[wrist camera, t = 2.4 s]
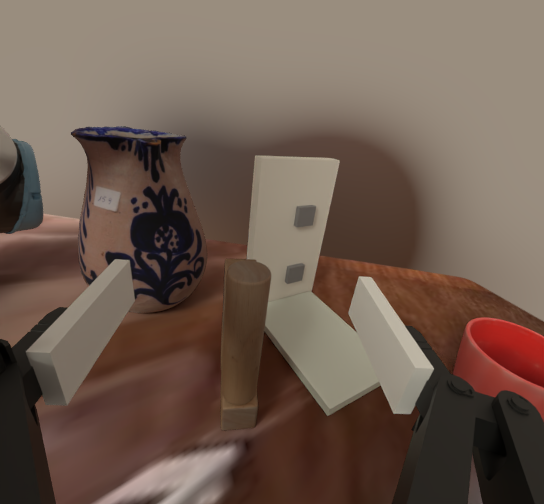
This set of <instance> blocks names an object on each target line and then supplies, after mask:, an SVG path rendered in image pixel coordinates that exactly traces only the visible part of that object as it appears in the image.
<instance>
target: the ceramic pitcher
mask: <svg viewBox="0 0 544 504" xmlns="http://www.w3.org/2000/svg"><path fill="white" fill-rule="evenodd" d="M71 135H72V136H73V137H75V138H76V139H77V140H78V141H79V142H80V143H81V145H82V147H83V148H84V150H85V153H86V156H87V161H88V171H87V183H86V190H85V194H84V202H83V206H82V212H81V217H80V224H79V237H78V255H79V264H80V269H81V273H82V275H83V278H84V280H85V282H86V283H87V285H88V286H90V285H91V284H92V283H93V282H94V280H95V279H96V278H97V277H98V276H99V275H100V274H101V273H102V272H103V271H104V270H105V269H106V268H107V267H108V266H109V265H110V264H111V263H112V262H113V261H114V260H115V259H121V260H130V267H131V274H132V282H133V289H134V297H135V302H134V303H133V305H132V306H131V308H130V309H129V312H135V313H150V312H157V311H162V310H165V309H169V308H171V307H173V306H175V305H177V304H179V303H180V302H182V301H183V300H184V299H186V298H187V297H188V296H189V295H190V294H191V293H192V292H193V291H194V290H195V288H196V287H197V285H198V283H199V282H200V280H201V278H202V276H203V274H204V271H205V267H206V262H207V246H206V240H205V237H204V233H203V229H202V226H201V223H200V221H199V218H198V215H197V212H196V209H195V206H194V204H193V201H192V199H191V196H190V192H189V190H188V187H187V185H186V181H185V179H184V175H183V172H182V168H181V163H180V151H181V147H182V145H183V143H184V141H185V140H186V137H185V136H180V135H174V134H172V133H165V132H157V131H148V130H141V129H132V128H129V127H126V126H121V127H103V128H100V127H86V128H79V129H75V130H74V131H73V132H71Z"/></svg>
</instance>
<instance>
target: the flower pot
mask: <svg viewBox="0 0 544 504" xmlns="http://www.w3.org/2000/svg"><path fill="white" fill-rule="evenodd" d="M453 375H455V376H458V377H460V378H462V379H463V380H465V381H467V382H468V383H469V384H470V385H471V386H472V387H473V389H474V390H475V391H476V392H479V393H482V394H485V395H489V396H492V397H496V396H497V394H498V393H499V392H500V391H504V390H507V391H511V392H514V393H516V394H519V395H521V396H522V397H524V398H525V399H527V400H528V401H529V402H531V403H532V404H533V405H534V406H535V407H536V409H537V410H538V412H539V413H540V415H541V417H542V419H543V421H544V336H542V335H540V334H538V333H536V332H534V331H532V330H530V329H527V328H525V327H522V326H520V325H517V324H514V323H511V322H508V321H504V320H500V319H495V318H476V319H473V320H471V321H469V322H468V323H467V325H466V327H465V330H464V333H463V336H462V340H461V343H460V347H459V351H458V355H457V358H456V362H455V366H454V371H453Z"/></svg>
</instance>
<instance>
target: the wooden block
mask: <svg viewBox="0 0 544 504" xmlns="http://www.w3.org/2000/svg"><path fill="white" fill-rule="evenodd" d="M270 283H271V272H270V270H269V268H268V267H267V266H266V265H264V264H262V263H260V262H257V261H256V260H255V259H226V260H225V271H224V294H223V313H222V337H221V430H223V431H225V430H236V429H246V428H254V427H255V425H256V419H257V412H258V398H257V390H256V389H257V382H258V374H259V367H260V359H261V351H262V344H263V336H264V329H265V321H266V314H267V306H268V299H269V291H270Z"/></svg>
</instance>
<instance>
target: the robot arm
mask: <svg viewBox="0 0 544 504" xmlns="http://www.w3.org/2000/svg"><path fill="white" fill-rule="evenodd" d="M40 193H41V190H40V181H39V175H38V170H37V165H36V160H35V156H34V152H33V149H32V147H31V146H30V145H29V144H28V143H26V142H24V141H18V140H16V139H11V137H10V136H9V134H8V133H7V132H6V131H5V130H4V129H3V128H2V127H1V126H0V233H6V234H12V233H14V232H16V231H22V230H28V229H34V228H36V227H38V226H39V225H40V224H41V223H42V221H43V203H42V197H41V194H40ZM134 302H135V297H134V289H133V282H132V274H131V267H130V260H121V259H115V260H114V261H113V262H112V263H111V264H110V265H109V266H108V267H107V268H106V269H105V270H104V271H103V272H102V273H101V274H100V275H99V276H98V277H97V278H96V279H95V280H94V282H93V283H92V284H91V285H90V286H89V287H88V288H87V289H86V290H85V291H84V292H83V293H82V294H81V295H80V296H79V297H78V298H77V299H76V300H75V301H74V302H73V303H72V304H71V305H70V306H69V307H68V308H64V307H59V308H57V309H55V310H54V311H52V312H50V313H48V314H47V315H46V316H45V317H44V318H43V319H42V320H40V321H39V322H38V325H35V326H34V327H33V328H32V329H31V331H30V332H28V333H27V334H26V335H25V336H24V337H23V338H22V339H21V340H20V341H19V342H18V343H17V344H16V345H15V346H13V347H12V348H11V346H10V344H9V343H8V341H5V340H2V339H0V504H56V502H55V497H54V492H53V487H52V482H51V477H50V472H49V467H48V463H47V458H46V453H45V448H44V443H43V438H42V433H41V428H40V423H39V418H38V414H37V409H36V407H35V403H36V402H37V401H38V399H39V398H40V397H41V395H42V396H43V398H44V401H45V404H46V405H68V403H69V402H70V400H71V399H72V397H73V396H74V394H75V393H76V391H77V390H78V388H79V386H80V385H81V383H82V382H83V380H84V379H85V377H86V376H87V374H88V373H89V371H90V369H91V368H92V366H93V365H94V363H95V362H96V360H97V359H98V357H99V356H100V354H101V352H102V351H103V349H104V348H105V346H106V345H107V343H108V342H109V340H110V339H111V337H112V335H113V334H114V332H115V331H116V329H117V328H118V326H119V325H120V323H121V322H122V320H123V319H124V317H125V315H126V314H127V312H128V311H129V309H130V308H131V306H132V305H133V303H134ZM348 314H349V316H350V318H351V320H352V322H353V325H354V327H355V329H356V331H357V334H358V336H359V338H360V340H361V342H362V345H363V347H364V349H365V351H366V354H367V356H368V358H369V360H370V362H371V365H372V367H373V369H374V371H375V374H376V376H377V378H378V380H379V382H380V385H381V387H382V389H383V391H384V394H385V396H386V398H387V400H388V402H389V405H390V407H391V409H392V411H393V414H411V412H412V411H413V409H414V407H415V405H416V406H417V408H418V410H419V412H420V415H419V417H418V419H417V421H416V422H415V424H414V426H413V428H412V430H413V431H414V432H413V436H412V439H411V442H410V446H409V449H408V452H407V455H406V459H405V462H404V465H403V469H402V472H401V475H400V479H399V482H398V485H397V489H396V492H395V495H394V499H393V502H392V504H467V503H468V492H469V481H470V471H471V460H472V453H473V458H474V463H475V468H476V473H477V477H478V482H479V487H480V492H481V497H482V502H483V504H544V421H543V419H542V417H541V415H540V413H539V412H538V410H537V409H536V407H535V406H534V405H533V404H532V403H531V402H529V401H528V400H527V399H525V398H524V397H522V396H521V395H519V394H516V393H514V392H511V391H507V390H504V391H500V392H499V393H498V394H497V396H496V397H492V396H489V395H485V394H482V393H479V392H476V391H475V390H474V389H473V387H472V386H471V385H470V384H469V383H468V382H467V381H465V380H463V379H462V378H460V377H458V376H455V375H453V374H450V372H449V371H448V370H447V368H446V367H445V365H444V364H443V363H442V361H441V360H440V359H439V357H438V356H437V355H436V353H435V352H434V351H433V350H432V348H431V346H430V345H429V344H428V343H427V341H426V340H425V338H424V337H423V336H422V334H421V333H420V332H418V331H417V330H416V329H415V328H414V327H412V326H404V324H403V323H402V321H401V320H400V318H399V317H398V315H397V314H396V312H395V311H394V310H393V308H392V307H391V305H390V304H389V302H388V301H387V299H386V298H385V296H384V295H383V294H382V292H381V291H380V289H379V288H378V286H377V285H376V283H375V282H374V280H373V279H372V278H371V277H360V276H359V278H358V282H357V285H356V288H355V292H354V295H353V299H352V302H351V306H350V309H349V313H348Z"/></svg>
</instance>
